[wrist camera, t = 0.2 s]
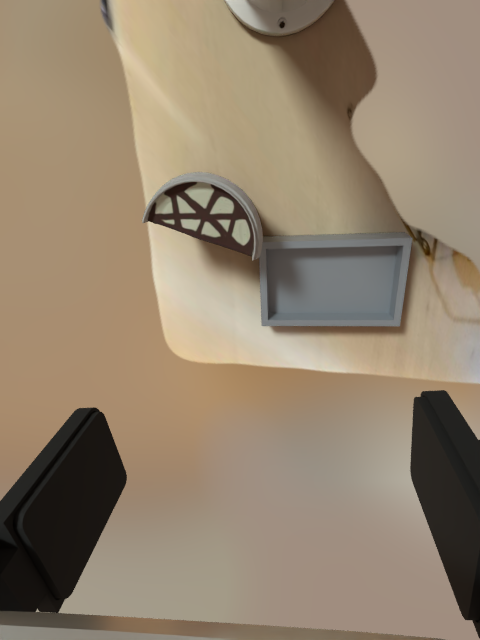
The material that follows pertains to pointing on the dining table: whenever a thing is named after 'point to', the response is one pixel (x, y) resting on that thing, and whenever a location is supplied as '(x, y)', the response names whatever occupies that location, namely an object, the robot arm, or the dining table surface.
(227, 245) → the food container
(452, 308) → the dining table surface
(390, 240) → the tray
